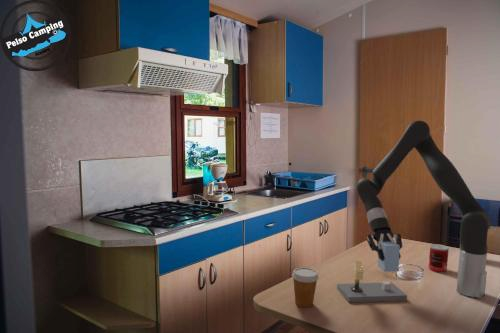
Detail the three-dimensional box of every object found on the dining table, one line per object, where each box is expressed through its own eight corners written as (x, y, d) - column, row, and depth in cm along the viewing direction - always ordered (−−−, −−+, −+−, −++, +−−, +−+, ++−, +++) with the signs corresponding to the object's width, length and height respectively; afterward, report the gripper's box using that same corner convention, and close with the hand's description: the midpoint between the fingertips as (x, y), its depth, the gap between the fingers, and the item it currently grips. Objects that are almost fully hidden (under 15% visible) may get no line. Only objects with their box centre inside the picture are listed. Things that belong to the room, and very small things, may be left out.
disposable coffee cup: (299, 295, 150) (301, 265, 148) (322, 303, 144) (323, 271, 142) (285, 303, 142) (287, 272, 141) (308, 312, 136) (310, 279, 135)
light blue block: (391, 265, 155) (392, 241, 154) (398, 271, 149) (399, 245, 148) (377, 266, 154) (379, 241, 153) (384, 271, 149) (385, 245, 148)
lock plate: (391, 287, 160) (392, 276, 159) (406, 300, 148) (407, 289, 147) (337, 288, 157) (337, 277, 156) (348, 302, 145) (349, 290, 144)
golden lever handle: (353, 286, 152) (354, 260, 151) (359, 287, 152) (361, 260, 151) (354, 299, 141) (356, 270, 140) (361, 300, 141) (363, 271, 140)
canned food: (442, 267, 185) (444, 244, 183) (449, 273, 177) (451, 249, 175) (425, 266, 185) (427, 243, 184) (431, 272, 177) (433, 248, 176)
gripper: (364, 216, 156) (376, 255, 146) (398, 216, 158) (412, 254, 148) (358, 226, 162) (369, 264, 152) (391, 225, 164) (404, 263, 153)
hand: (390, 259), depth 150 cm, fingers closed on light blue block, 5 cm apart
